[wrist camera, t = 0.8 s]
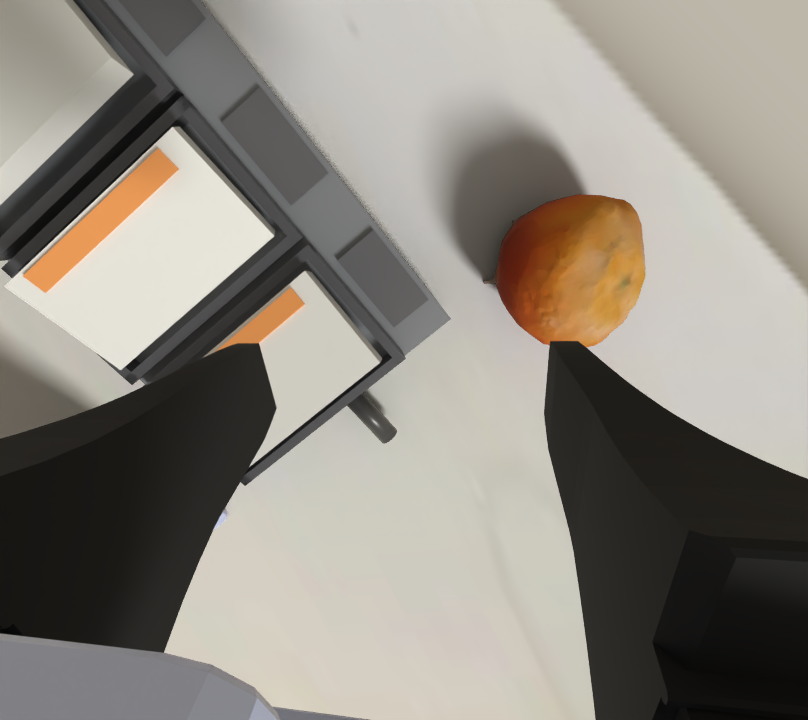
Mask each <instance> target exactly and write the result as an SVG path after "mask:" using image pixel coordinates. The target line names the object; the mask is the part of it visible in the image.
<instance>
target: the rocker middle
mask: <svg viewBox="0 0 808 720" xmlns="http://www.w3.org/2000/svg"><path fill="white" fill-rule="evenodd" d="M274 235H275V229H274V228H273V227H272V226H271V225H270V224H269V223H268V222H267V221H266V220H265V218H264V217H263V216H262V215H261V214H260V213H259V212H258V211H257V210H256V209H255V208H254V207H253V205H252V204H251V203H250V202H249V201H248V200H247V199H246V198H245V197H244V196H243V195H242V194H241V192H240V191H239V190H238V189H237V188H236V187H235V186H234V185H233V184H232V183H231V182H230V181H229V179H228V178H227V177H226V176H225V175H224V174H223V173H222V172H221V171H220V170H219V169H218V168H217V167H216V165H215V164H214V163H213V162H212V161H211V160H210V159H209V158H208V157H207V156H206V155H205V154H204V152H203V151H202V150H201V149H200V148H199V147H198V146H197V145H196V144H195V143H194V142H193V141H192V139H191V138H190V137H189V136H188V135H187V134H186V133H185V132H184V131H183V130H182V129H181V128H180V127H172V128H171V129H170V130H169V131H168V132H167V133H166V134H165V135H163V136H162V137H161V138H160V139H159V140H158V141H157V142H156V143H155V144H154V145H153V146H152V147H151V148H150V149H149V150H148V151H147V152H146V153H144V154H143V155H142V156H141V157H140V158H139V159H138V160H137V161H136V162H135V163H134V164H133V165H132V166H131V167H130V168H129V169H128V170H127V171H125V172H124V173H123V174H122V175H121V176H120V177H119V178H118V179H117V180H116V181H115V182H114V183H113V184H112V185H111V186H110V187H109V188H108V189H106V190H105V191H104V192H103V193H102V194H101V195H100V196H99V197H98V198H97V199H96V200H95V201H94V202H93V203H92V204H91V205H90V206H88V207H87V208H86V209H85V210H84V211H83V212H82V213H81V214H80V215H79V216H78V217H77V218H76V219H75V220H74V221H73V222H72V223H71V224H69V225H68V226H67V227H66V228H65V229H64V230H63V231H62V232H61V233H60V234H59V235H58V236H57V237H56V238H55V239H54V240H53V241H52V242H50V243H49V244H48V245H47V246H46V247H45V248H44V249H43V250H42V251H41V252H40V253H39V254H38V255H37V256H36V257H35V258H34V259H32V260H31V261H30V262H29V263H28V264H27V265H26V266H25V267H24V268H23V269H22V270H21V271H20V272H19V273H18V274H17V275H16V276H15V277H13V278H12V279H11V280H10V281H9V282H8V283H7V284H6V285H5V286H4V287H5V288H6V289H8V290H9V291H11V292H12V293H13V294H15V295H16V296H18V297H19V298H20V299H22V300H23V301H25V302H26V303H27V304H29V305H30V306H32V307H33V308H34V309H36V310H37V311H39V312H40V313H41V314H43V315H44V316H46V317H47V318H48V319H50V320H51V321H53V322H54V323H55V324H57V325H58V326H59V327H61V328H62V329H64V330H65V331H66V332H68V333H69V334H71V335H72V336H73V337H75V338H76V339H78V340H79V341H80V342H82V343H83V344H85V345H86V346H87V347H89V348H90V349H92V350H93V351H94V352H96V353H97V354H99V355H100V356H101V357H103V358H104V359H106V360H107V361H108V362H110V363H111V364H113V365H114V366H115V367H117V368H118V369H119V370H122V369H123V368H124V367H125V366H126V365H127V364H129V363H130V362H131V361H132V360H133V359H134V358H135V357H137V356H138V355H139V354H140V353H141V352H142V351H143V350H145V349H146V348H147V347H148V346H149V345H150V344H151V343H153V342H154V341H155V340H156V339H157V338H158V337H159V336H161V335H162V334H163V333H164V332H165V331H166V330H168V329H169V328H170V327H171V326H172V325H173V324H174V323H176V322H177V321H178V320H179V319H180V318H181V317H182V316H184V315H185V314H186V313H187V312H188V311H189V310H190V309H192V308H193V307H194V306H195V305H196V304H197V303H198V302H200V301H201V300H202V299H203V298H204V297H205V296H206V295H208V294H209V293H210V292H211V291H212V290H213V289H214V288H216V287H217V286H218V285H219V284H220V283H221V282H222V281H224V280H225V279H226V278H227V277H228V276H229V275H230V274H232V273H233V272H234V271H235V270H236V269H237V268H238V267H240V266H241V265H242V264H243V263H244V262H245V261H247V260H248V259H249V258H250V257H251V256H252V255H253V254H255V253H256V252H257V251H258V250H259V249H260V248H261V247H263V246H264V245H265V244H266V243H267V242H268V241H269V240H271V239H272V238H273V237H274Z"/></svg>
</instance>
